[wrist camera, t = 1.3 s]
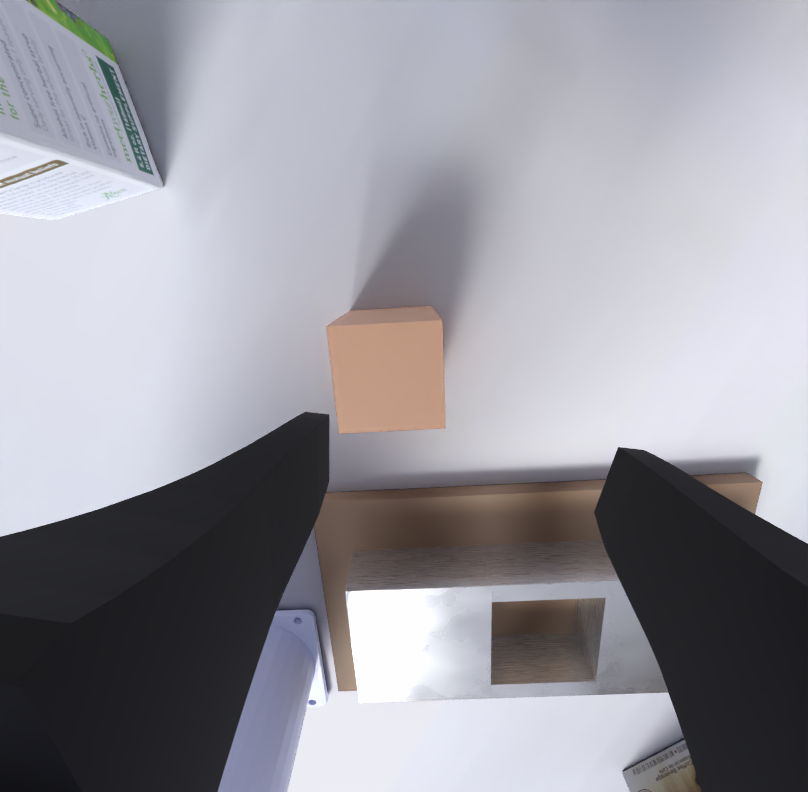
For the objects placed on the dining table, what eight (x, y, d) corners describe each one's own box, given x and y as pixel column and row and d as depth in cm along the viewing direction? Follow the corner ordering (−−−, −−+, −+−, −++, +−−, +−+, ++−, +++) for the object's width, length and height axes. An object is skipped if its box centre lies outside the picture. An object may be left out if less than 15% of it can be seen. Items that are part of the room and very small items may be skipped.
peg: (357, 388, 21) (339, 433, 15) (350, 310, 19) (326, 326, 14) (434, 384, 20) (445, 428, 15) (431, 305, 19) (442, 320, 14)
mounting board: (340, 676, 27) (338, 691, 26) (315, 493, 22) (310, 503, 21) (703, 663, 26) (715, 678, 25) (746, 472, 22) (762, 482, 21)
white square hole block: (364, 652, 25) (359, 702, 22) (353, 550, 22) (345, 591, 19) (691, 640, 24) (729, 690, 21) (713, 535, 22) (759, 575, 19)
